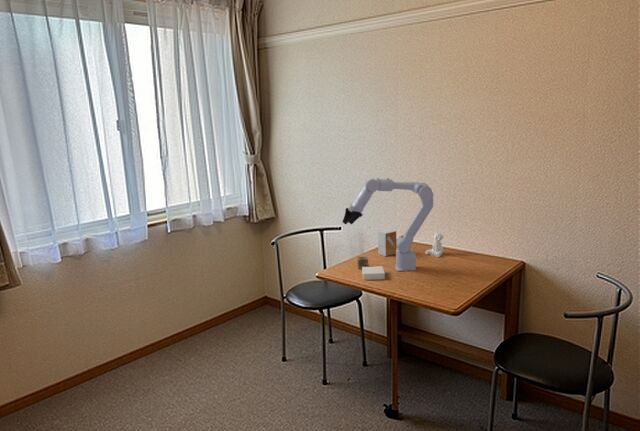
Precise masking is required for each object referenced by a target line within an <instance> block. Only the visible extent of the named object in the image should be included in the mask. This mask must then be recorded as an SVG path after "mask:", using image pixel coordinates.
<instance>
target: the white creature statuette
mask: <svg viewBox="0 0 640 431" xmlns="http://www.w3.org/2000/svg"><path fill="white" fill-rule="evenodd" d="M443 239H444V235H443V234H441V233H439V232H435V233H434V236H433V240H434V241H433V242H432V244H431V246H432V248H428V249H427V250H425V252H424V253H425V255H431V256H435V257H436V258H440V257H441V256H442V255H443V253H444V248H443V245H442V242H441V241H442V240H443Z"/></svg>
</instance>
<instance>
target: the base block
mask: <svg viewBox="0 0 640 431" xmlns="http://www.w3.org/2000/svg"><path fill="white" fill-rule="evenodd" d="M361 273H362V279H363V280H364V281H371V280H375V281H376V280H385V279H386V278H385V275H386V274H385V271H384V267H383V266H380V265H378V266H368V267H362V269H361Z"/></svg>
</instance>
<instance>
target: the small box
mask: <svg viewBox="0 0 640 431" xmlns="http://www.w3.org/2000/svg"><path fill="white" fill-rule="evenodd" d="M377 235H378V236H377V239H378V240H377V241H378V242H377V243H378V244H377V245H378V250H377V251H378V255H381V256H383V257H388V256H392V255H396V250H397V244H396V240H397V230H394V229H391V228H388V229H384V230H380V231H377Z"/></svg>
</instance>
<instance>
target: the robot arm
mask: <svg viewBox="0 0 640 431" xmlns="http://www.w3.org/2000/svg"><path fill="white" fill-rule="evenodd" d="M393 190H405V191H411V192H412V193H415V194H417V195H418V196H419V198H420V201H421V206H420V208H418V211H417V212H416V214H415V216H414V217H413V218H412V220H411V221H410V224H408V227H407V228H406V229H405V231H404V232H403V233H402V234H401V235H400V236H399V237H397V238H396V254H395V263H396V264H395V265H394V268H395V272H405V271H406V272H407V271H409V272H410V271H416V270H417V268H416V252H415V250H411V247H412V244H413V243H414V238H415V236H416V234H417V233H418V232H419V230H420V228H421V227H422V226H423V224H424V222H425V220H426V219H427V217H428V216H429V214H430V213H431V211H432V210H433V208H434V193H433V190H432V188H431V187H430V186H429V185H428V184H427V183H425V182H419V181H417V182H415V181H406V182H405V181H404V182H403V181H402V182H399V181H397V182H396V181H394V180H393V179H390V178H389V177H387V178H385V179H383V178H382V179H380V178H378V177H377V178H376V179H375V178H369V179H367V180H366V182H365V185H364V186H363V188H362V189H361V190H360V192H359V194H358V195H357V197H356V198H355V200H354V201H353V203H351V202H350V203H349V205H350V206H349V208H348V207H346V208H345V209H344V210H345V213H344V217H343V219H342V223H343V224H344V225H347V224H350V225H353V224H354V223H355V222H356V221H357V220H358V219H360V218H361V217H362V216H363V211H364V208H366V206H367V204H368V202H369V201H370V199H371V198H372V196H373V195H374V193H375V192H377V191H378V192H392V191H393Z"/></svg>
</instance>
